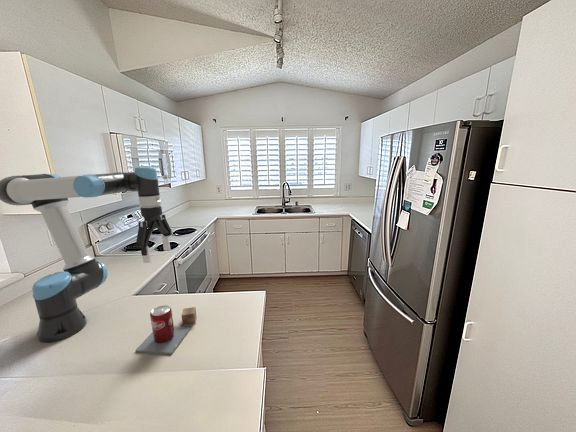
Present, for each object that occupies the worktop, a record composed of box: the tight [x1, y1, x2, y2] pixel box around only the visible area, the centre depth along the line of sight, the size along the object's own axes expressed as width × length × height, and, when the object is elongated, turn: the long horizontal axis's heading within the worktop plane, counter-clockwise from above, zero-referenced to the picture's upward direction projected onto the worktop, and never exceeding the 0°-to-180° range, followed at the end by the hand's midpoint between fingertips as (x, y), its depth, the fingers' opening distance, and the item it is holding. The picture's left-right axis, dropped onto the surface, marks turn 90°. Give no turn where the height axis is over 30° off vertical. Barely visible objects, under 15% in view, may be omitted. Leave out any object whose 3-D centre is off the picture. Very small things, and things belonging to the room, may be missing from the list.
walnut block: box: [181, 306, 197, 327], centre depth 108 cm, size 5×5×5 cm
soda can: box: [149, 304, 175, 344], centre depth 96 cm, size 7×7×12 cm
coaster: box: [134, 326, 192, 356], centre depth 97 cm, size 14×14×1 cm
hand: (157, 256), depth 106 cm, fingers open, 13 cm apart
